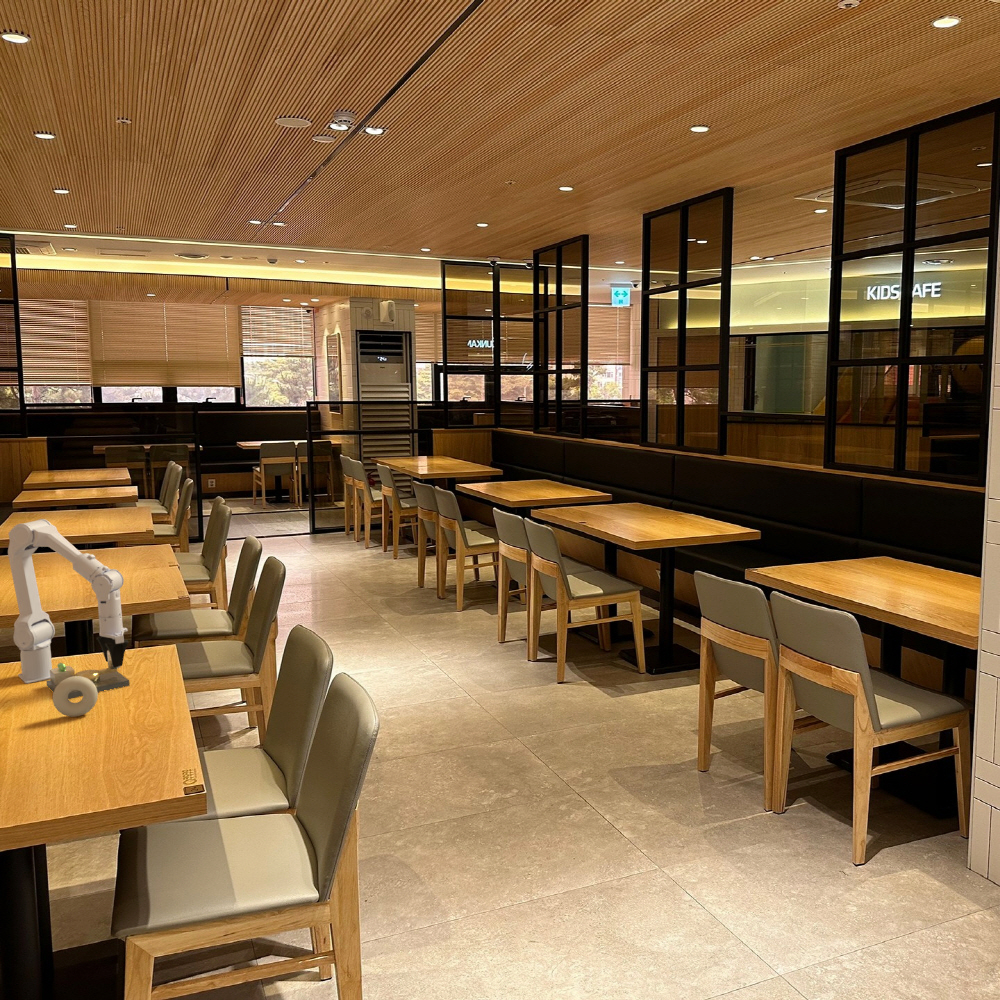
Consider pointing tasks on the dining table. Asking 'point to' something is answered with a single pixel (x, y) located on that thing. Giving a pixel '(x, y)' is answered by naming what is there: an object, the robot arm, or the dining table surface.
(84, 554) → the robot arm
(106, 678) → the instrument base
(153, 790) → the dining table surface
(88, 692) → the donut
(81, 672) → the gold rounded piece
